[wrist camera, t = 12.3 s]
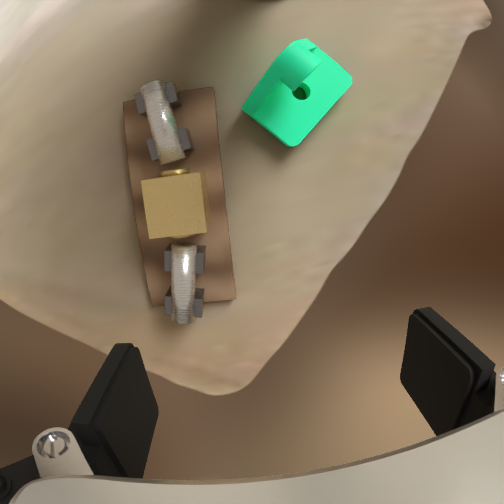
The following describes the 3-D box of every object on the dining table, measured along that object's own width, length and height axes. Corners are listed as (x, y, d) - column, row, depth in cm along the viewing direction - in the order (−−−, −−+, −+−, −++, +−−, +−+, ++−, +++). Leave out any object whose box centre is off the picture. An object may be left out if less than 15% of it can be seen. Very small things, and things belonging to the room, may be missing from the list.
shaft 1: (141, 97, 33) (129, 89, 29) (176, 85, 33) (169, 75, 29) (161, 167, 36) (150, 168, 31) (196, 155, 35) (191, 154, 31)
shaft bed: (126, 104, 35) (122, 102, 33) (214, 89, 35) (213, 86, 33) (154, 301, 42) (152, 306, 40) (236, 294, 42) (236, 299, 40)
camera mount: (290, 150, 37) (308, 146, 28) (241, 111, 36) (243, 92, 26) (348, 84, 35) (382, 63, 25) (302, 45, 34) (323, 12, 24)
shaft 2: (170, 236, 38) (161, 246, 33) (206, 239, 38) (202, 249, 34) (170, 305, 40) (163, 322, 36) (204, 307, 41) (200, 325, 36)
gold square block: (154, 172, 36) (140, 174, 30) (204, 165, 36) (199, 166, 30) (162, 232, 38) (150, 244, 32) (211, 226, 38) (207, 238, 32)
